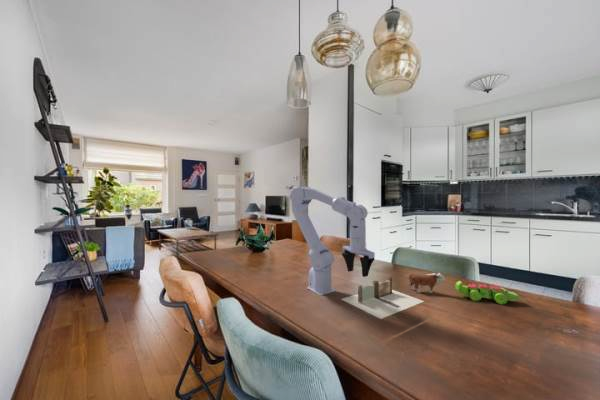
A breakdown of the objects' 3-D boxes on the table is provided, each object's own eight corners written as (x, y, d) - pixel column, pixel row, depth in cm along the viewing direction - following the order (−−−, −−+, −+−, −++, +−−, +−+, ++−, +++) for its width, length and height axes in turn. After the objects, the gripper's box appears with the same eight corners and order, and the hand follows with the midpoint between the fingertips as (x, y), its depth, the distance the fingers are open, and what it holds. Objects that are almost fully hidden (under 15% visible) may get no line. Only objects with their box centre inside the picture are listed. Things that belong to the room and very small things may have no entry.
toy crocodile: (513, 300, 94) (514, 283, 94) (522, 307, 88) (522, 290, 88) (453, 293, 101) (453, 277, 101) (457, 299, 95) (457, 283, 94)
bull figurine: (446, 295, 98) (447, 274, 97) (409, 293, 100) (410, 272, 100) (442, 291, 102) (443, 271, 102) (407, 289, 105) (407, 269, 104)
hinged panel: (371, 296, 95) (371, 281, 95) (374, 297, 94) (374, 282, 93) (357, 301, 90) (357, 285, 90) (360, 302, 89) (360, 286, 89)
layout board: (340, 300, 93) (341, 299, 93) (383, 287, 106) (383, 286, 106) (380, 320, 78) (380, 318, 78) (424, 302, 91) (424, 301, 91)
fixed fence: (376, 298, 93) (376, 282, 93) (371, 297, 95) (371, 281, 95) (393, 293, 99) (393, 278, 99) (389, 291, 101) (389, 276, 101)
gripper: (380, 239, 91) (380, 276, 91) (351, 234, 103) (351, 267, 103) (366, 241, 87) (366, 280, 87) (338, 235, 99) (338, 270, 99)
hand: (357, 273), depth 95 cm, fingers open, 7 cm apart
